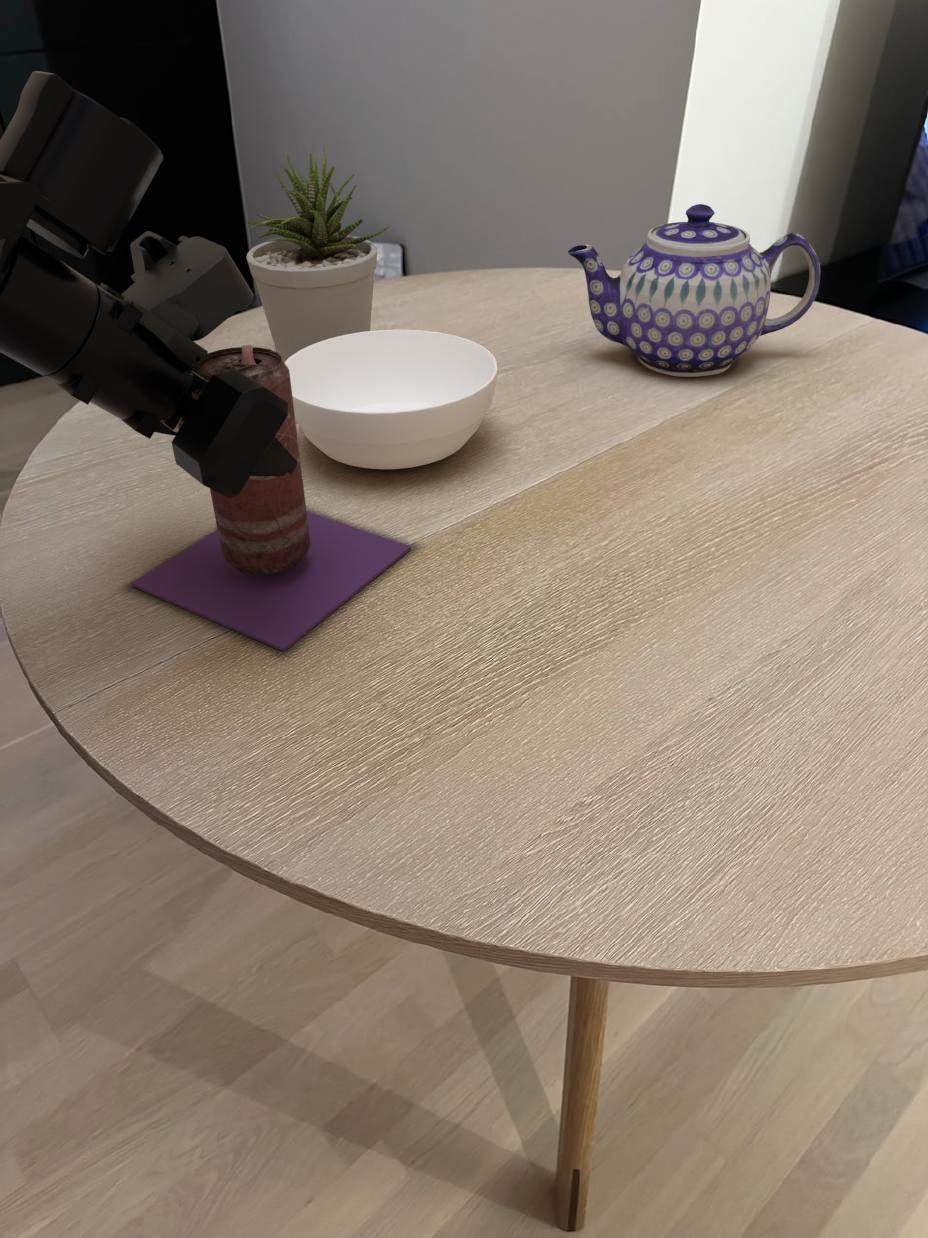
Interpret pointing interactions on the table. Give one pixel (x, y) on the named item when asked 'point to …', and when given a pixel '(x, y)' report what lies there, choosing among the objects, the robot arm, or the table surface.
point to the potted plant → (313, 268)
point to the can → (262, 480)
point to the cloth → (275, 582)
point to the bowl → (391, 395)
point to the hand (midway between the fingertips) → (272, 454)
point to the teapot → (692, 294)
